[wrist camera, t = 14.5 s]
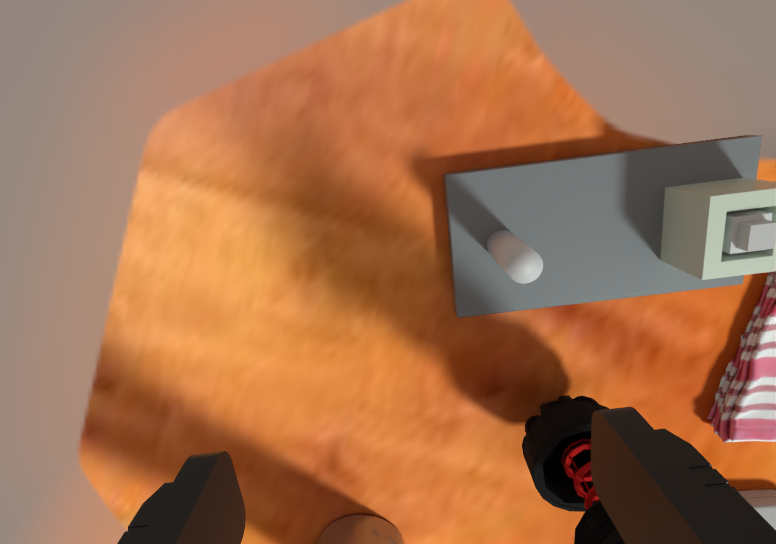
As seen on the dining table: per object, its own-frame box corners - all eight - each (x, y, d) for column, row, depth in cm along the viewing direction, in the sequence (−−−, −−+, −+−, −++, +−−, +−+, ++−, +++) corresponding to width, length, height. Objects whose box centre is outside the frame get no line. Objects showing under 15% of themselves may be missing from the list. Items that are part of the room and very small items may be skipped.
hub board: (746, 135, 35) (843, 136, 28) (729, 278, 39) (810, 313, 31) (443, 173, 35) (459, 185, 28) (455, 310, 39) (472, 352, 32)
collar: (742, 177, 34) (800, 185, 30) (733, 251, 36) (787, 269, 31) (665, 187, 35) (710, 196, 30) (660, 260, 36) (702, 279, 32)
